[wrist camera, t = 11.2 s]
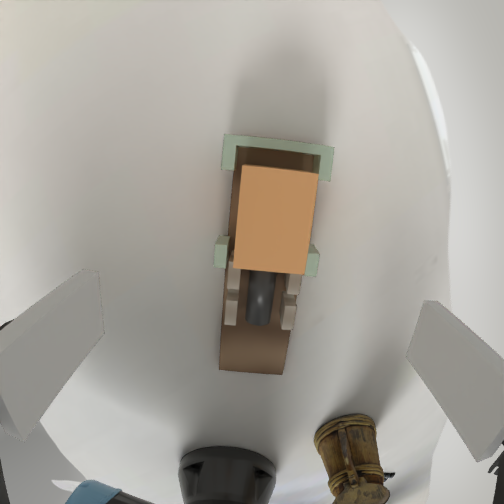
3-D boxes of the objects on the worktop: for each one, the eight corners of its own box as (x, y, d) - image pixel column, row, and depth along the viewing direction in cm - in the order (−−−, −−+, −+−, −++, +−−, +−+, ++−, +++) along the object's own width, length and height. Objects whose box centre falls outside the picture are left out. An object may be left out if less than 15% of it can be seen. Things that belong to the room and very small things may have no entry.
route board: (281, 369, 34) (284, 393, 30) (219, 364, 33) (215, 388, 29) (315, 145, 27) (325, 142, 23) (237, 136, 27) (234, 132, 23)
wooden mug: (365, 382, 34) (412, 500, 17) (377, 438, 38) (410, 533, 21) (297, 406, 35) (314, 531, 18) (322, 457, 39) (339, 555, 22)
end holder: (310, 265, 29) (315, 276, 26) (217, 256, 29) (213, 267, 26) (325, 148, 26) (334, 147, 23) (227, 136, 26) (224, 134, 23)
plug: (282, 315, 30) (289, 356, 24) (232, 311, 30) (226, 351, 24) (302, 170, 26) (318, 174, 20) (245, 164, 26) (242, 165, 20)
